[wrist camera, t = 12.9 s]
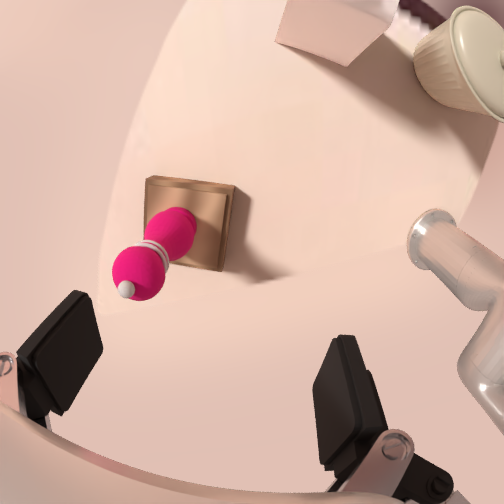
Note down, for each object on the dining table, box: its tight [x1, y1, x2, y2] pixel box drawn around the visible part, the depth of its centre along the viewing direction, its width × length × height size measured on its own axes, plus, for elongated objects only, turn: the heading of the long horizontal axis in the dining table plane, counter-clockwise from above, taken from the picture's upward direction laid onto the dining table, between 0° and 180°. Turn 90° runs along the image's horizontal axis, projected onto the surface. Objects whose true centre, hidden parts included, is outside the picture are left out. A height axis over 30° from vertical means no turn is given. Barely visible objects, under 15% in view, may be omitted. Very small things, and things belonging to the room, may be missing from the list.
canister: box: [413, 6, 504, 123], centre depth 23 cm, size 18×18×21 cm
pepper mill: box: [112, 207, 197, 301], centre depth 33 cm, size 7×7×20 cm
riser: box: [144, 175, 235, 272], centre depth 44 cm, size 14×14×4 cm
